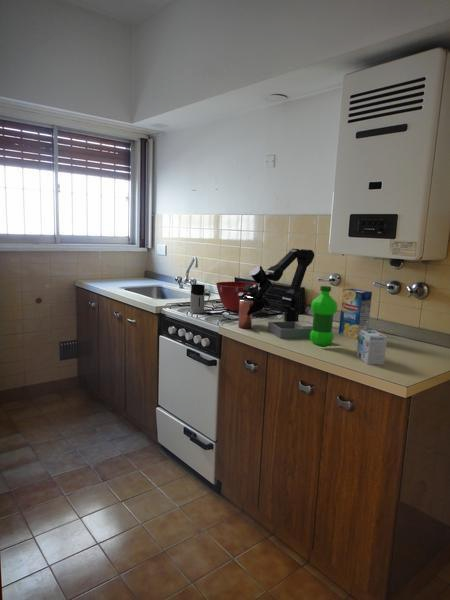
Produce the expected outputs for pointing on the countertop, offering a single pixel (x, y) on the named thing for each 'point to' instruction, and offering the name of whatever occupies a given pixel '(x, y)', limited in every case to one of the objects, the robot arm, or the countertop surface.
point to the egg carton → (303, 325)
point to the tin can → (245, 313)
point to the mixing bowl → (231, 293)
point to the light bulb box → (371, 347)
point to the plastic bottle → (323, 317)
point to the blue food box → (354, 312)
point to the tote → (288, 330)
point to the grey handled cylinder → (197, 298)
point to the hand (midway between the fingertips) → (243, 313)
